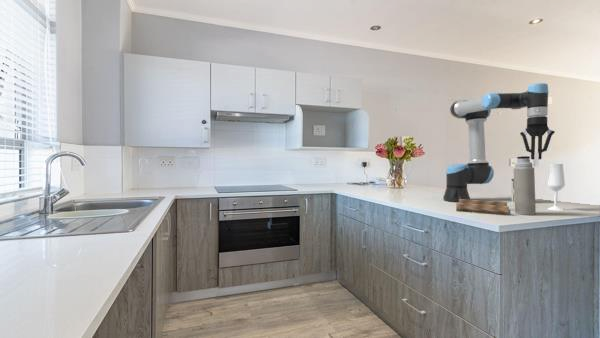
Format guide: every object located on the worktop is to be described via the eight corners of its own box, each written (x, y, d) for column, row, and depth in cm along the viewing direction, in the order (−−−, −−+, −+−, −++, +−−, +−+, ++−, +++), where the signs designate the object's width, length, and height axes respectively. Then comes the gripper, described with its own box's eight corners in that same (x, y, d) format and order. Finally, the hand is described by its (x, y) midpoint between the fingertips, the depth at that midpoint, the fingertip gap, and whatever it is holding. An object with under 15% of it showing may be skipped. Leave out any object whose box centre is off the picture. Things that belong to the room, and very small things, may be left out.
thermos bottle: (511, 212, 144) (509, 156, 143) (528, 211, 143) (526, 156, 143) (521, 215, 136) (520, 156, 136) (539, 214, 135) (538, 155, 135)
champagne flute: (560, 208, 151) (561, 163, 150) (567, 211, 145) (568, 163, 144) (544, 208, 153) (545, 163, 152) (550, 210, 147) (551, 164, 146)
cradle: (506, 209, 151) (506, 202, 151) (508, 215, 136) (508, 207, 136) (459, 206, 163) (459, 199, 163) (456, 211, 148) (456, 203, 148)
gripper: (520, 117, 136) (519, 166, 137) (556, 114, 129) (555, 166, 130) (519, 118, 142) (518, 166, 143) (553, 116, 135) (552, 166, 136)
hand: (535, 166), depth 137 cm, fingers closed
